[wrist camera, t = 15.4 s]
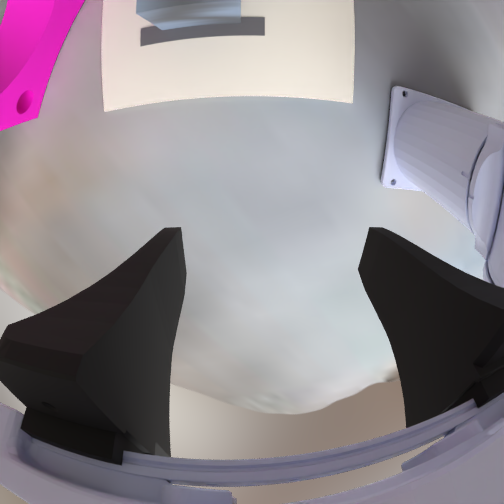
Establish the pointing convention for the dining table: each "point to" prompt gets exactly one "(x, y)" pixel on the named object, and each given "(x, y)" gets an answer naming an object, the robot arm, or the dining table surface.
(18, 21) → the toy block
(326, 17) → the letter board
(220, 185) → the dining table surface
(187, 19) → the slate-blue cube
